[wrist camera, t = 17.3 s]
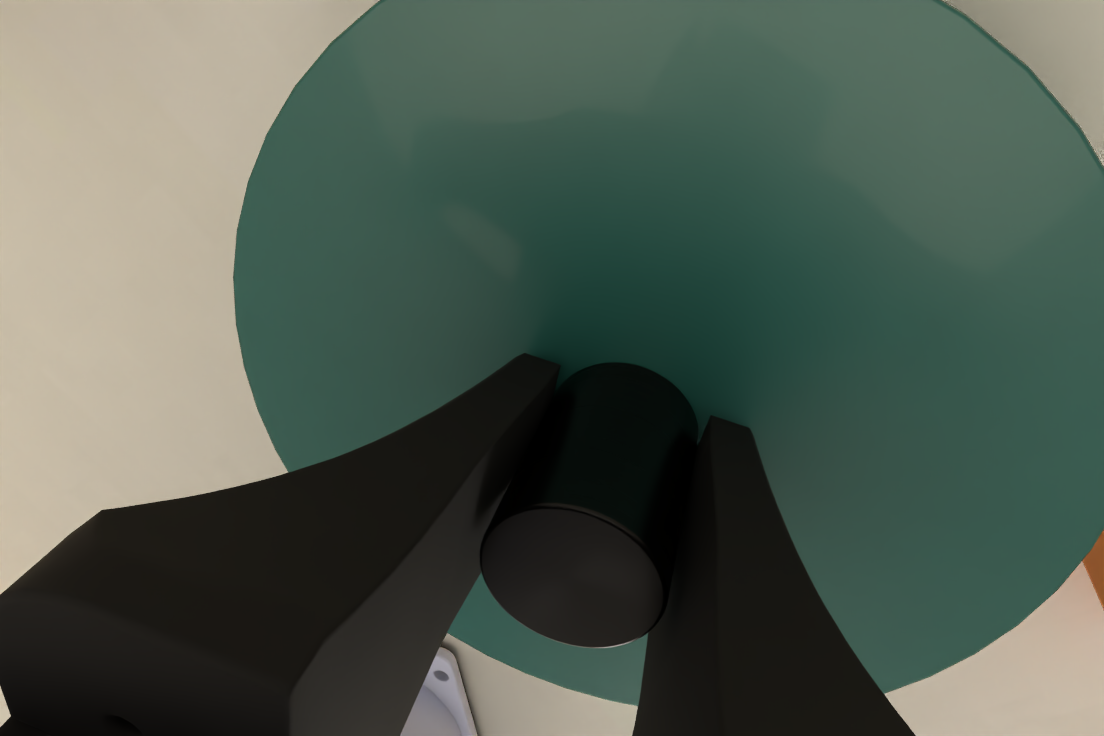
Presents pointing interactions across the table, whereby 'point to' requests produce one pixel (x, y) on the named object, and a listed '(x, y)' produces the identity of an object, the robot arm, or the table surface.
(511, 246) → the tin lid
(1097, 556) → the orange rectangular block
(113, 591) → the robot arm
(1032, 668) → the table surface
